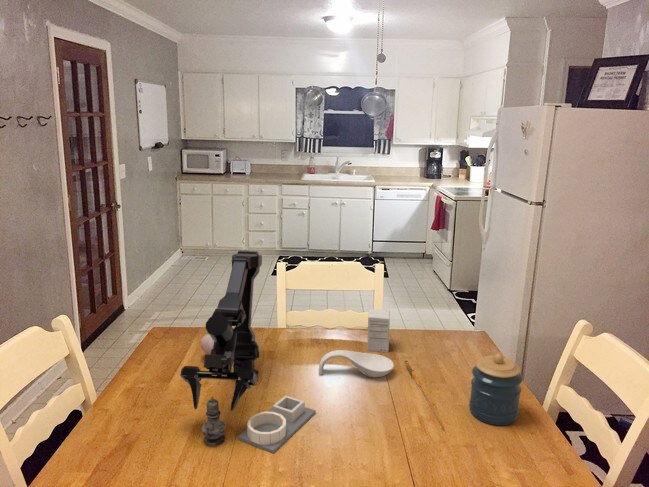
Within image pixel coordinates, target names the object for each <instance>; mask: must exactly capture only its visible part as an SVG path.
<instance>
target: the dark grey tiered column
mask: <svg viewBox="0 0 649 487" xmlns="http://www.w3.org/2000/svg"><path fill="white" fill-rule="evenodd" d="M219 407H220V406H219V401H218V399H215V398H214V396H211V397H210V399H209V400H207V402H206V412H205V417H206V422H205V423H203V425H202V426H201V431H202V433H203V435H204V438H203V443H204V445H206V446H209V447H215V446H216V447H217V446H219V445H221V444H223V443H224V442H225V440H226V436H225V435H224V432H225V429H226V428H227V427H226V424H225V422H224V421H222V420H221V419H220V415H221V411H220V409H219Z"/></svg>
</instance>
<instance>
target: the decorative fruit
mask: <svg viewBox="0 0 649 487" xmlns="http://www.w3.org/2000/svg"><path fill="white" fill-rule="evenodd" d="M204 334H205V335H204V336H203V337H202V338H201V340H200V348H201V350H202V351H203V353H204V355H206V354H210V353H211V350H212V349H213V345H214V341H213V340H212V338H211V336H210V335H209V333H208V332H207V331H206V332H205V333H204Z"/></svg>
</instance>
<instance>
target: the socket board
mask: <svg viewBox="0 0 649 487" xmlns="http://www.w3.org/2000/svg"><path fill="white" fill-rule="evenodd" d="M316 412H317V411H316V410H315V409H313V408H310V407H307V406H306V402H305V401H304V400H302V399H298V398H296V397H292V396H289V395H284V396H283V397H282V398H280V399H279V400H278V401H276V403H275V404H273V405H272V408H270V409H269V410H268V411H261V412H259V413H255V414H253V415H252V416H251V417H249V418H248V420H247V424H246V429H245V430H244V431H242V432H241V433H240V434H239V435H237V440H239V441H241V442H244V443H247V445H251V446H254V447H256V448H258V449H262V450H264V451H266V452H268V453H272V454H275V453H276V452H277V451H278V450H279V449H280V448H281V447H282V446H283V445H284V444H285V443H286V442H287V441H288V440H289V439H290V438H291V437H292V436H293V435H295V433H296V432H298V431H299V429H301V428H302V427H303V426H304V425H305V424H306V423H307V422H308V421H309V420H310V419H311V418H312V417H313V416H314V415H315V414H317V413H316Z"/></svg>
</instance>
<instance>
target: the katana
mask: <svg viewBox="0 0 649 487" xmlns="http://www.w3.org/2000/svg"><path fill="white" fill-rule="evenodd" d="M404 364H405V366H406V368H407V370H408V371H409V374H410V375H411V379H412V381H413V383H414V384H415V386H416V387H417V388H418V390H419V392H420V394H421V395H422V398H424V401H425V402H426V405H427V406H428V408H429V410H430V411H431V413H432V414H433V416H434V418H435V420H436V422H437V423H438V424H439V428H441V429H443V428H444V425H443V423H442V422H441V420H440V419H439V416H438V415H437V414H436V412H435V410H434V408H433V406H432V404H431V403H430V401H429V399H428V396H427V395H426V394H425V392H424V390H423V389H422V386H421V384H420V382H419V376H418V375H417V373H416V371H415V370H414V369H412V367H411V365H410V363H409V361H408V360H405V361H404Z"/></svg>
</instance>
